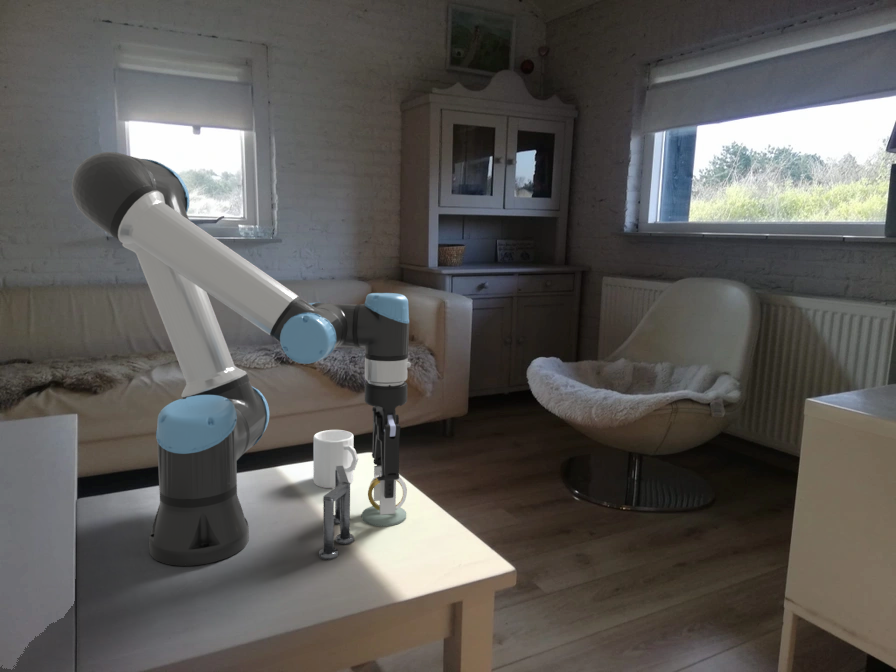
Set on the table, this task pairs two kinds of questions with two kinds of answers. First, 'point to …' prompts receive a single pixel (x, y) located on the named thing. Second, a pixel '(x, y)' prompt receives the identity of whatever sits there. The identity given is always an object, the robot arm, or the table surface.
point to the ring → (375, 482)
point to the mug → (333, 456)
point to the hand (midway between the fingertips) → (384, 506)
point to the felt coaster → (383, 517)
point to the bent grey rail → (336, 515)
